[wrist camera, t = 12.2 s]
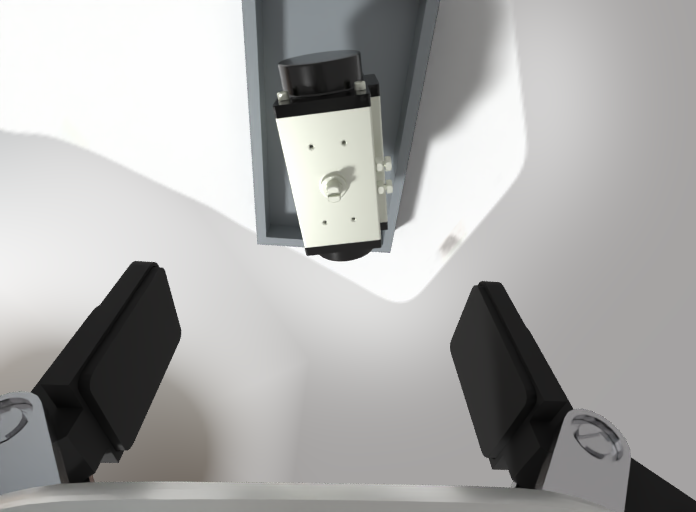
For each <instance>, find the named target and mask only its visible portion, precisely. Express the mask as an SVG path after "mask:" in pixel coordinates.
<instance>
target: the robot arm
mask: <svg viewBox="0 0 696 512" xmlns="http://www.w3.org/2000/svg"><path fill="white" fill-rule="evenodd" d="M180 337H181V327H180V324H179V320H178V317H177V313H176V309H175V306H174V302H173V299H172V295H171V291H170V287H169V284H168V281H167V276H166V273H165V270H164V269H163V268H160V267H159V266H158V264H157V263H155V262H142V261H134V262H132V264H131V265H130V266H129V267H128V268H127V270H126V271H125V272H124V274H123V275H122V276H121V278H120V279H119V281H118V282H117V283H116V284H115V286H114V287H113V288H112V290H111V291H110V292H109V294H108V295H107V296H106V298H105V299H104V300H103V302H102V303H101V304H100V305H99V306H98V307H96V308H95V309H94V310H93V311H92V313H91V314H90V315H89V316H88V318H87V319H86V320H85V322H84V323H83V324H82V326H81V327H80V328H79V329H78V331H77V332H76V333H75V335H74V336H73V337H72V339H71V340H70V341H69V343H68V344H67V345H66V347H65V348H64V349H63V351H62V352H61V353H60V354H59V356H58V357H57V358H56V360H55V361H54V362H53V364H52V365H51V366H50V368H49V369H48V370H47V371H46V373H45V374H44V375H43V377H42V378H41V379H40V381H39V382H38V383H37V385H36V386H35V387H34V389H33V390H32V391H31V392H24V391H19V392H12V393H7V394H4V395H1V396H0V512H696V501H695V500H693V499H692V498H690V497H689V496H688V495H686V494H684V493H683V492H682V491H680V490H679V489H677V488H676V487H674V486H673V485H671V484H670V483H668V482H667V481H665V480H664V479H662V478H661V477H659V476H658V475H656V474H655V473H653V472H652V471H650V470H649V469H647V468H646V467H644V466H643V465H641V464H640V463H638V462H637V461H635V460H634V459H632V458H631V453H630V448H629V445H628V443H627V441H626V439H625V438H624V437H623V435H622V433H621V432H620V431H619V430H618V429H617V428H616V427H615V426H614V425H613V424H612V423H611V422H610V421H608V420H607V419H606V418H604V417H603V416H601V415H599V414H596V413H595V412H593V411H589V410H585V409H573V408H572V406H571V404H570V402H569V400H568V399H567V397H566V395H565V393H564V392H563V390H562V388H561V386H560V385H559V383H558V381H557V379H556V377H555V375H554V374H553V372H552V370H551V368H550V367H549V365H548V363H547V361H546V359H545V358H544V356H543V354H542V352H541V351H540V349H539V347H538V345H537V343H536V342H535V340H534V338H533V336H532V334H531V333H530V331H529V330H528V328H527V327H526V326H525V324H524V323H523V321H522V319H521V317H520V315H519V314H518V312H517V310H516V308H515V306H514V305H513V303H512V301H511V299H510V298H509V296H508V294H507V292H506V290H505V288H504V287H503V285H502V284H501V283H499V282H487V281H486V282H485V281H482V282H480V283H479V284H478V286H477V285H476V286H474V287H473V288H472V290H471V293H470V295H469V297H468V300H467V303H466V305H465V307H464V310H463V312H462V315H461V317H460V320H459V323H458V325H457V327H456V330H455V332H454V335H453V337H452V340H451V343H450V351H451V355H452V358H453V361H454V364H455V367H456V371H457V374H458V377H459V380H460V383H461V387H462V390H463V393H464V396H465V399H466V402H467V406H468V409H469V413H470V415H471V419H472V422H473V425H474V429H475V432H476V435H477V438H478V441H479V445H480V448H481V451H482V453H483V455H484V456H485V457H487V458H489V460H490V464H491V467H492V469H498V470H499V469H500V470H509V473H510V475H511V478H512V480H513V483H512V485H511V488H504V487H479V486H443V485H442V486H440V485H389V484H329V483H327V484H326V483H325V484H323V483H253V482H252V483H250V482H248V483H247V482H246V483H245V482H95V480H94V477H93V474H94V473H95V472H96V470H97V468H98V466H99V464H100V463H119V460H120V458H121V456H122V454H123V452H124V450H129V449H130V448H131V446H132V445H133V443H134V441H135V439H136V436H137V434H138V432H139V430H140V428H141V425H142V423H143V421H144V419H145V416H146V414H147V412H148V410H149V407H150V405H151V403H152V400H153V399H154V396H155V394H156V392H157V390H158V388H159V385H160V383H161V381H162V379H163V376H164V374H165V372H166V370H167V368H168V365H169V363H170V361H171V359H172V356H173V354H174V352H175V349H176V348H177V345H178V343H179V341H180Z"/></svg>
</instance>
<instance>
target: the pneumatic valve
mask: <svg viewBox="0 0 696 512" xmlns="http://www.w3.org/2000/svg"><path fill="white" fill-rule="evenodd" d="M278 69H279V74H280V79H281V84H282V89H283V90H282V91H281V92H278V93H277V96H278V98H277V99H276V101H275V102H274V104H273V110H274V115H275V119H276V123H277V128H278V132H279V137H280V141H281V145H282V150H283V154H284V159H285V163H286V167H287V172H288V176H289V181H290V185H291V189H292V194H293V198H294V203H295V207H296V211H297V216H298V220H299V225H300V229H301V233H302V238H303V242H304V246H305V251H306V255H307V256H310V255H320V256H322V257H323V258H325V259H328V260H332V261H350V260H355V259H358V258H361V257H363V256H365V255H366V254H368V253H369V252H371V251H372V250H373V249H374V248H381V247H382V244H381V230H388V219H387V203H386V191H387V193H393V185H392V180H391V179H389V180H386V184H385V171H391V170H392V163H391V157H390V156H385V157H384V153H383V137H382V120H381V104H380V87H379V82H378V80H377V78H376V76H375V74H369V75H364V74H363V72H362V63H361V53H360V51H357V50H336V51H326V52H319V53H312V54H306V55H301V56H297V57H292V58H289V59H285V60H283V61H280V62H279V63H278ZM384 167H385V170H384Z"/></svg>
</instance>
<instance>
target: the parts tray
mask: <svg viewBox="0 0 696 512" xmlns="http://www.w3.org/2000/svg"><path fill="white" fill-rule="evenodd" d="M439 3H440V0H242V12H243V28H244V43H245V59H246V74H247V90H248V105H249V121H250V136H251V152H252V167H253V183H254V198H255V214H256V229H257V244H262V245H277V246H293V247H305V246H304V242H303V238H302V233H301V229H300V225H299V220H298V216H297V211H296V207H295V203H294V198H293V194H292V189H291V185H290V181H289V176H288V172H287V167H286V163H285V159H284V154H283V150H282V145H281V141H280V137H279V132H278V128H277V123H276V119H275V115H274V110H273V104H274V102H275V101H276V99H277V98H278V96H277V93H278V92H281V91H282V90H283V89H282V84H281V79H280V74H279V69H278V63H279V62H280V61H283V60H285V59H289V58H292V57H297V56H301V55H306V54H312V53H319V52H326V51H336V50H357V51H360V53H361V63H362V72H363V74H364V75H369V74H375V76H376V78H377V80H378V82H379V87H380V104H381V120H382V137H383V153H384V157H385V156H390V157H391V163H392V170H391V171H385V184H386V180H389V179H391V180H392V185H393V193H387V191H386V203H387V219H388V230H381V244H382V247H381V248H374V249H373V250H372V251H371V252H385V253H390V251H391V246H392V241H393V236H394V231H395V226H396V221H397V216H398V211H399V206H400V200H401V195H402V190H403V185H404V180H405V175H406V170H407V165H408V160H409V155H410V150H411V145H412V140H413V135H414V129H415V124H416V119H417V114H418V109H419V104H420V99H421V94H422V89H423V84H424V79H425V74H426V69H427V64H428V58H429V53H430V48H431V43H432V38H433V33H434V28H435V23H436V18H437V13H438V8H439ZM384 170H385V167H384Z"/></svg>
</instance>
